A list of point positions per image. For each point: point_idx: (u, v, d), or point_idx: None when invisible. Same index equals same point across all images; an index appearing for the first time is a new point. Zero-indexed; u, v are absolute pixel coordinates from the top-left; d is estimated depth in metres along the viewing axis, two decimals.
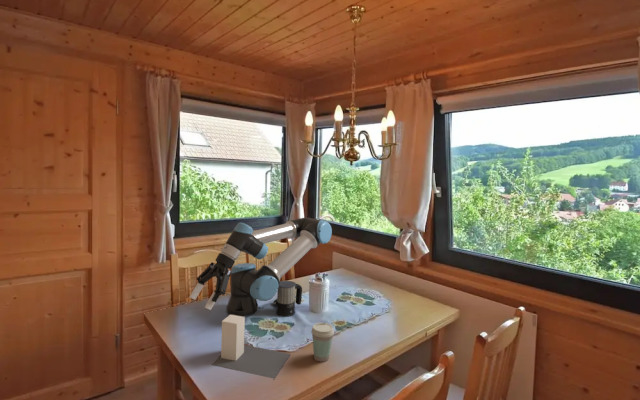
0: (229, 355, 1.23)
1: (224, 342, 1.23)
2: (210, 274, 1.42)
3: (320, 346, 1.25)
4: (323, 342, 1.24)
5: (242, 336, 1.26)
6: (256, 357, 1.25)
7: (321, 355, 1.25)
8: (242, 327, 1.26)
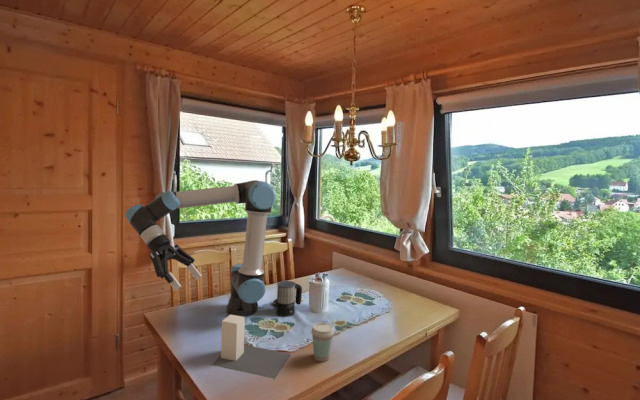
0: (229, 355, 1.23)
1: (224, 342, 1.23)
2: (174, 258, 1.33)
3: (320, 346, 1.25)
4: (323, 342, 1.24)
5: (242, 336, 1.26)
6: (256, 357, 1.25)
7: (321, 355, 1.25)
8: (242, 327, 1.26)
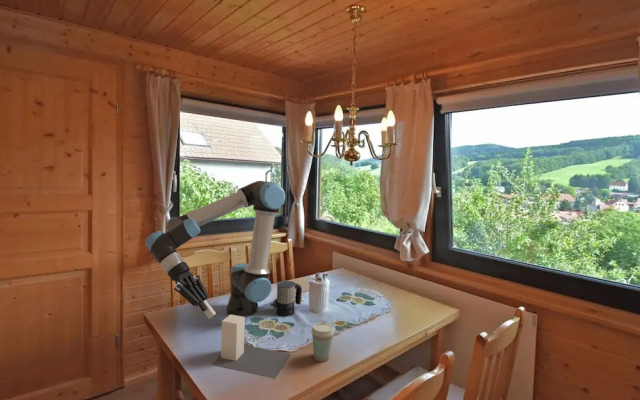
0: (229, 355, 1.23)
1: (224, 342, 1.23)
2: None
3: (320, 346, 1.25)
4: (323, 342, 1.24)
5: (242, 336, 1.26)
6: (256, 357, 1.25)
7: (321, 355, 1.25)
8: (242, 327, 1.26)
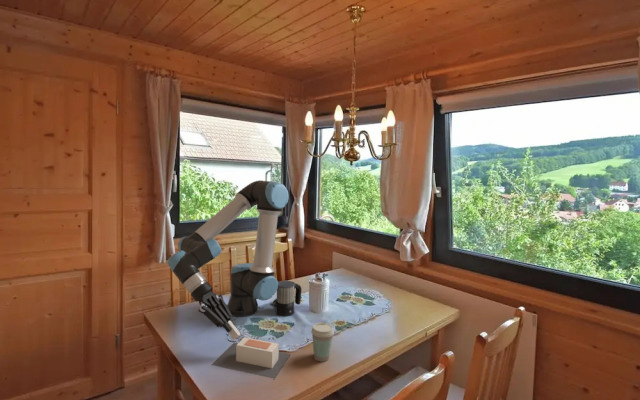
0: (239, 354, 1.22)
1: (251, 350, 1.21)
2: None
3: (320, 346, 1.25)
4: (323, 342, 1.24)
5: None
6: None
7: (321, 355, 1.25)
8: None
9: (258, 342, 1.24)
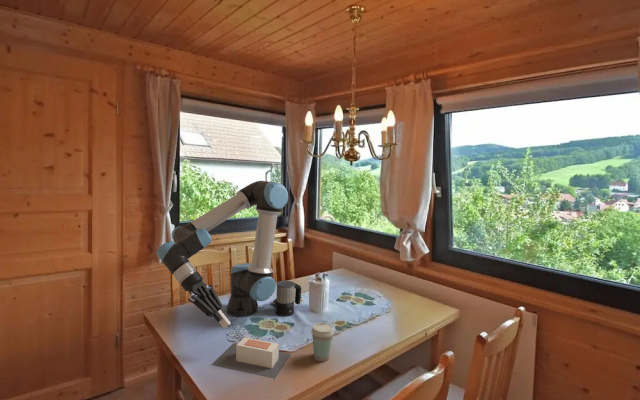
0: (239, 354, 1.22)
1: (251, 350, 1.21)
2: None
3: (320, 346, 1.25)
4: (323, 342, 1.24)
5: None
6: None
7: (321, 355, 1.25)
8: None
9: (258, 342, 1.24)
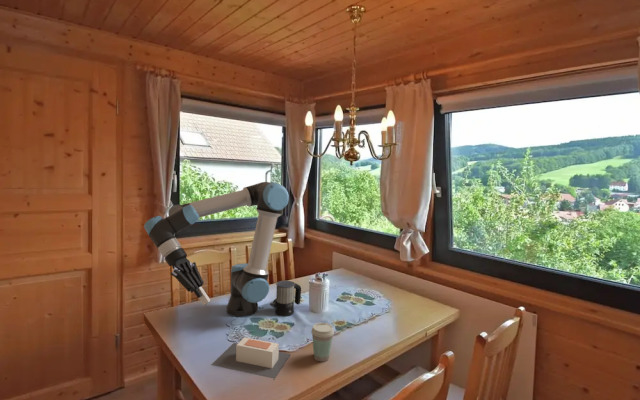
0: (239, 354, 1.22)
1: (251, 350, 1.21)
2: None
3: (320, 346, 1.25)
4: (323, 342, 1.24)
5: None
6: None
7: (321, 355, 1.25)
8: None
9: (258, 342, 1.24)
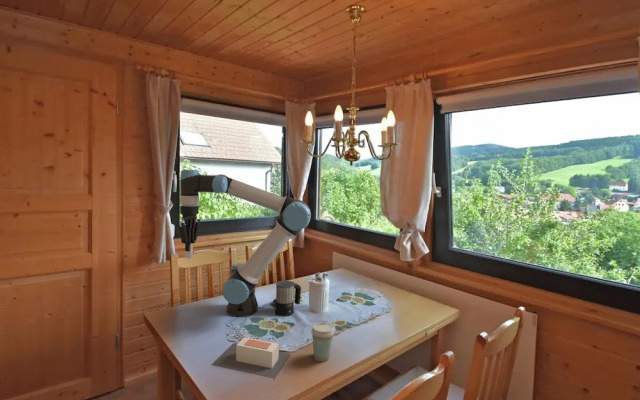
0: (239, 354, 1.22)
1: (251, 350, 1.21)
2: None
3: (320, 346, 1.25)
4: (323, 342, 1.24)
5: None
6: None
7: (321, 355, 1.25)
8: None
9: (258, 342, 1.24)
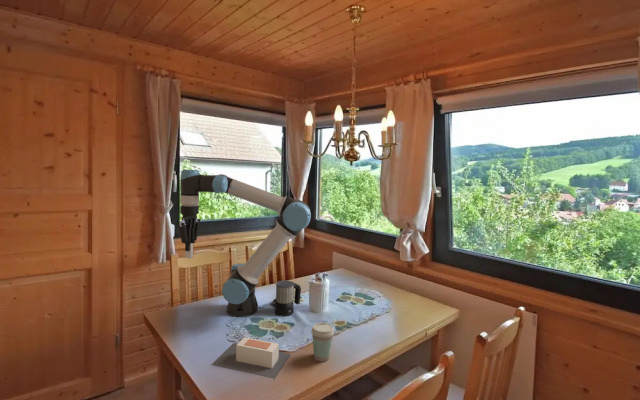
0: (239, 354, 1.22)
1: (251, 350, 1.21)
2: None
3: (320, 346, 1.25)
4: (323, 342, 1.24)
5: None
6: None
7: (321, 355, 1.25)
8: None
9: (258, 342, 1.24)
